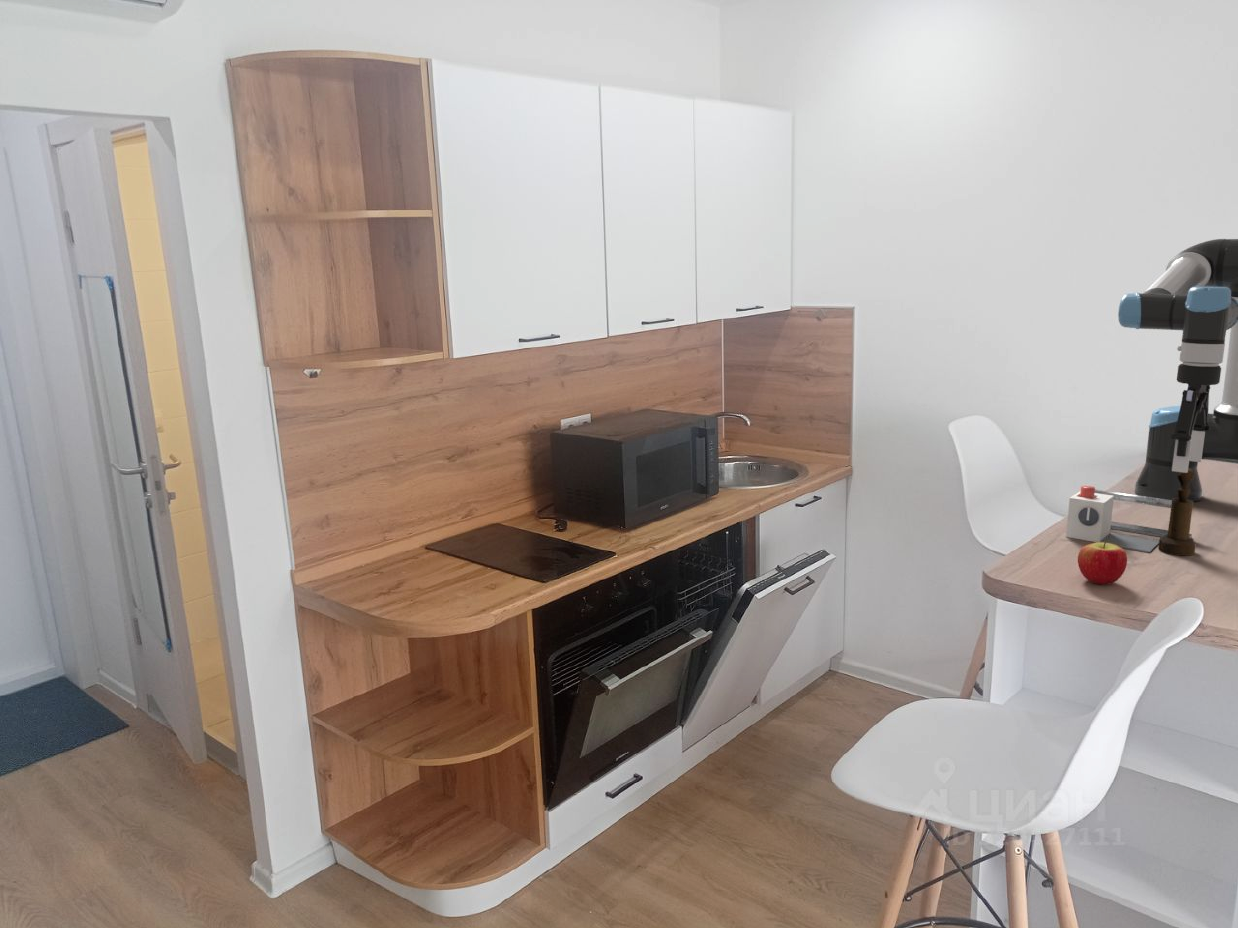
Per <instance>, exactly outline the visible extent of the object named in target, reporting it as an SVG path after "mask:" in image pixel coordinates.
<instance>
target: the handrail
mask: <svg viewBox="0 0 1238 928" xmlns="http://www.w3.org/2000/svg"><path fill="white" fill-rule="evenodd" d="M1095 493H1099V494H1105V495H1112V496H1114V500H1113V501H1120V502H1126V503H1133V504H1141V505H1147V506H1154V507H1158V508H1159V507H1160V508H1167V509H1171V504H1172V500H1167V499H1160V498H1153V497H1146V496H1140V495H1138V494H1130V493H1123V492H1118V491H1110V490H1103V489H1096V488H1095ZM1110 530H1117V531H1123V532H1129V533H1134V534H1135V533H1136V534H1140V535H1141V534H1142V535H1147V536H1153V537H1160V538H1162V537H1163V536H1165V535H1168V529H1160V528H1156V527H1150V526H1143V525H1136V524H1130V523H1123V522H1119V521H1113V520H1111V527H1110ZM1192 537H1193V534H1192V533H1189V538H1191V539H1192Z"/></svg>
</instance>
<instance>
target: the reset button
mask: <svg viewBox="0 0 1238 928" xmlns="http://www.w3.org/2000/svg"><path fill="white" fill-rule="evenodd" d="M1095 489H1096V487H1094V486H1091V485H1081V486H1080V490H1079V491H1080V497H1084V498H1091V499H1094V493H1095Z"/></svg>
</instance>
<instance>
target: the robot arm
mask: <svg viewBox="0 0 1238 928" xmlns="http://www.w3.org/2000/svg"><path fill="white" fill-rule="evenodd" d="M1117 318H1118V323H1119V324H1120V326H1121V327H1123V328H1129V329H1136V330H1139V329H1140V330H1163V331H1164V330H1167V331H1173V330H1174V331H1182V335H1181V345H1179V346H1177V348H1176V349H1177V351H1178V352H1180V353H1179V361H1180V362H1181V363H1180V364H1179V365H1178V367H1177V376H1176V382H1177V383H1180V384H1185V385H1186V384H1187V389H1184V390H1182V397H1181V403H1180V405H1174V406H1173V405H1171V406H1166V407H1165V406H1164V407H1159V408H1157V409H1155V410H1154V411H1153V412H1152V413H1151V417H1150V422H1149V425H1148V428H1149V429H1148V438H1147V444H1146V445H1147V446H1146V455H1145V456H1146V457H1145V463H1144V466H1143V468H1142V470H1141V472H1140V474H1139V476H1138V478H1137V480H1136V481H1135V483H1134V484H1135V485H1134V493H1135V495H1139V496H1146V497H1153V498H1160V499H1167V500H1172V499H1175V498H1179V495H1178V488H1180V487H1181V483H1180V481H1179V479H1178V476H1177V474H1178V472H1184V473H1187V472H1188V468H1190V469H1191V470H1193V472H1194V478H1193V480H1192V481H1191V482H1190V483H1189V489H1190V494H1189V496H1188V498H1187V499H1189V500H1192V501H1193V502H1198V501H1200V500H1202V496H1203V488H1202V483H1201V480H1200V475H1199V471H1198V465H1199V463H1202V460H1205V461H1206V460H1207V461H1213V462H1214V461H1215V462H1223V463H1228V464H1229V463H1230V464H1235V465H1236V464H1238V238H1219V239H1217V238H1216V239H1210V240H1207V241H1204V242H1200V243H1197V244H1195V245H1192V246H1189V247H1188V248H1186V249H1184V250H1182V251H1180V252H1179V253H1177V254H1176V255H1175V256H1173V257H1172V258H1171V259H1170V261H1169V262H1168V263H1167V266H1166V268H1165V271H1164V272H1163V273H1162V274H1161V275H1160V276H1159V277H1158V278H1157V279H1156V280H1155V281H1154V282H1153V283H1152V284H1151V285H1150V286H1149V287H1148V288H1147V289H1146V290H1145V291H1144V292H1143V293H1139V292H1135V293H1125V294H1124V295H1123V296H1122V298H1121V300H1120V303H1119V305H1118V317H1117ZM1227 330H1230V333H1229V342H1228V347H1227V348H1228V349H1227V350H1228V351H1227V356H1226V357H1227V358H1226V367H1225V375H1224V383H1223V390H1222V397H1221V398H1222V399H1221V402H1219V403H1218V404H1216V405H1215V406H1214V407H1213V412H1212V413H1209V403H1210V401H1209V399H1210V389H1211V386H1215V385H1219V384H1220V382H1221V373H1222V367H1221V365H1219V364H1222V363H1223V361H1224V360H1223V359H1224V354H1225V347H1226V343H1225V342H1226V334H1227Z"/></svg>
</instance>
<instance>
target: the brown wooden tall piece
mask: <svg viewBox="0 0 1238 928" xmlns="http://www.w3.org/2000/svg"><path fill="white" fill-rule="evenodd" d="M1177 476H1178V479H1179V481H1180V483H1181V487H1180V488H1178V495H1179V498H1175V499H1172V504H1171V508H1170V512H1169V515H1170V516H1169V521H1168V523H1169V524H1168V529H1167V530H1168V535H1165V536H1163V537H1160V538H1159V544H1158V547H1157V548H1158V550H1159V551H1161V552H1163V553H1166V554H1169V555H1176V556H1177V555H1178V556H1192V555H1194V554H1196V553H1195V552H1196V542H1195V541H1194V540H1193V539H1192V538H1189V534H1190V530H1191V523H1192V514H1193V508H1194V507H1193V506H1194V501H1192V500H1189V499H1187V498H1188V496H1189V494H1190V489H1189V483H1190V482H1191V481H1192V480H1193V478H1194V472H1193V470H1191V469H1190V468H1188V472H1187V473H1184V472H1178V474H1177Z"/></svg>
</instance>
